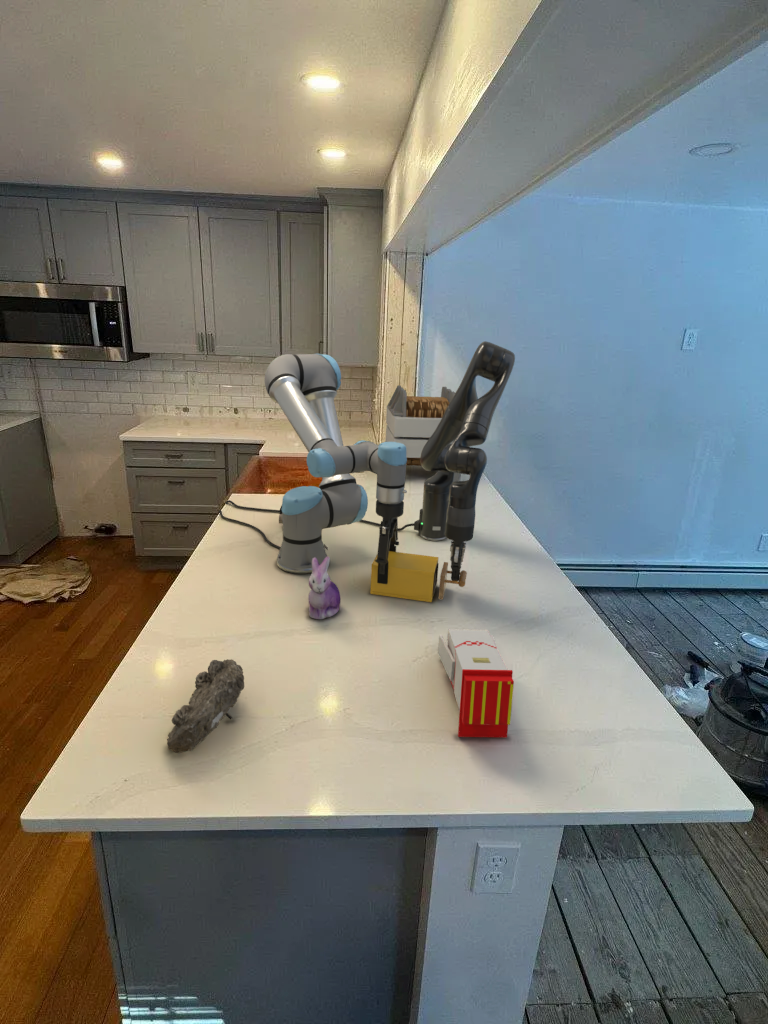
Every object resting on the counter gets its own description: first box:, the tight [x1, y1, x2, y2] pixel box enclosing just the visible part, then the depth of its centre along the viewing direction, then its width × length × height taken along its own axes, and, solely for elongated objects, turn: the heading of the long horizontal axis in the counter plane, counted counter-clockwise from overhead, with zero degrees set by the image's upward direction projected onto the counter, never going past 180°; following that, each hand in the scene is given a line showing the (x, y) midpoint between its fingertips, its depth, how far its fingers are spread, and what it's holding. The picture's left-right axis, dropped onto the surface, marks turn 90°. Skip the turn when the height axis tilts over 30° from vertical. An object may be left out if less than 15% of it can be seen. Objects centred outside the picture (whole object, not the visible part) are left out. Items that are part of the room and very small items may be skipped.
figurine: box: [307, 555, 342, 620], centre depth 144 cm, size 9×10×15 cm
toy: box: [437, 628, 515, 738], centre depth 117 cm, size 12×13×30 cm
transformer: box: [384, 384, 461, 482], centre depth 268 cm, size 34×33×41 cm
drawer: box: [432, 561, 468, 600], centre depth 158 cm, size 21×9×7 cm, turn 78°
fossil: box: [166, 658, 245, 754], centre depth 106 cm, size 22×10×15 cm
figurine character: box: [278, 505, 283, 525], centre depth 204 cm, size 7×8×15 cm
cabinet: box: [369, 551, 439, 603], centre depth 159 cm, size 17×10×9 cm, turn 78°
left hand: (386, 574), depth 160 cm, fingers closed on cabinet, 10 cm apart
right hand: (455, 579), depth 156 cm, fingers closed
